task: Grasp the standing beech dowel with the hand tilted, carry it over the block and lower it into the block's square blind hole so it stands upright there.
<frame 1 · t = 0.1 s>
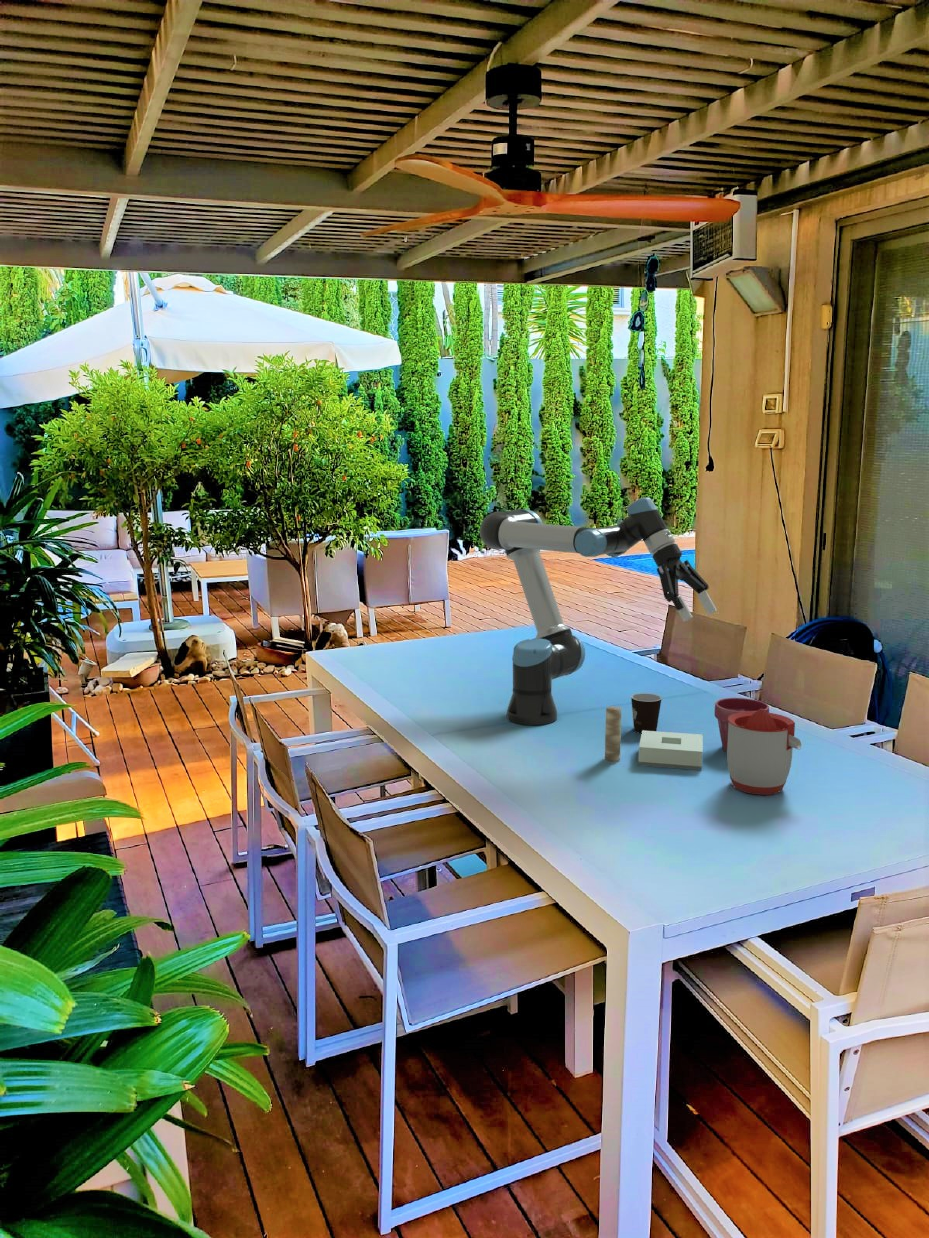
hand: (700, 616, 258), 36 cm above the table, tool tilted 35°, fingers open, 13 cm apart
citrus juicer: (760, 788, 231), on the table
dowel: (612, 759, 251), on the table
coffee mug: (645, 729, 276), on the table
plant pot: (739, 749, 258), on the table
socket block: (670, 758, 251), on the table
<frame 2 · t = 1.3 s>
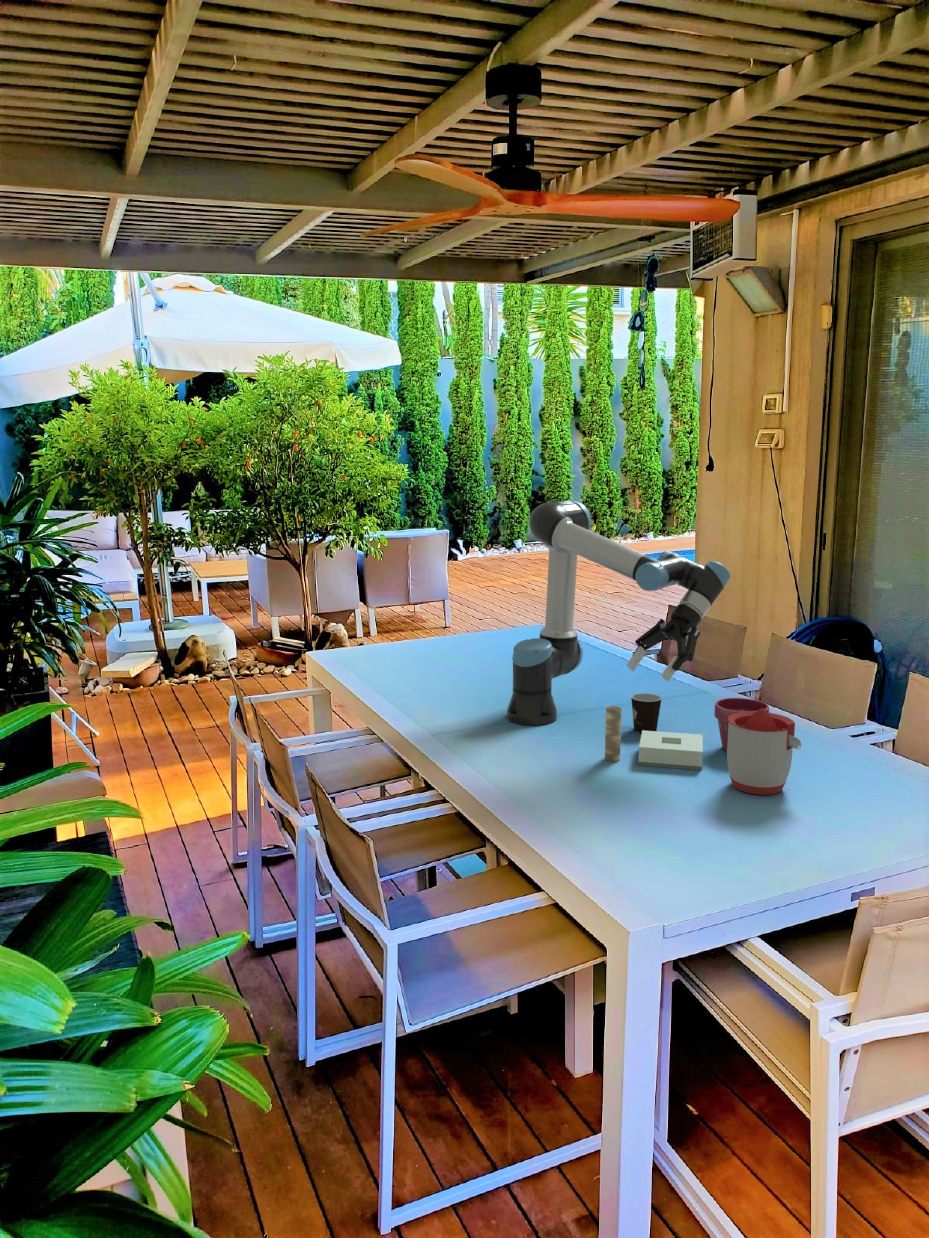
hand: (646, 673, 252), 22 cm above the table, tool tilted 45°, fingers open, 13 cm apart
nothing on the table moved.
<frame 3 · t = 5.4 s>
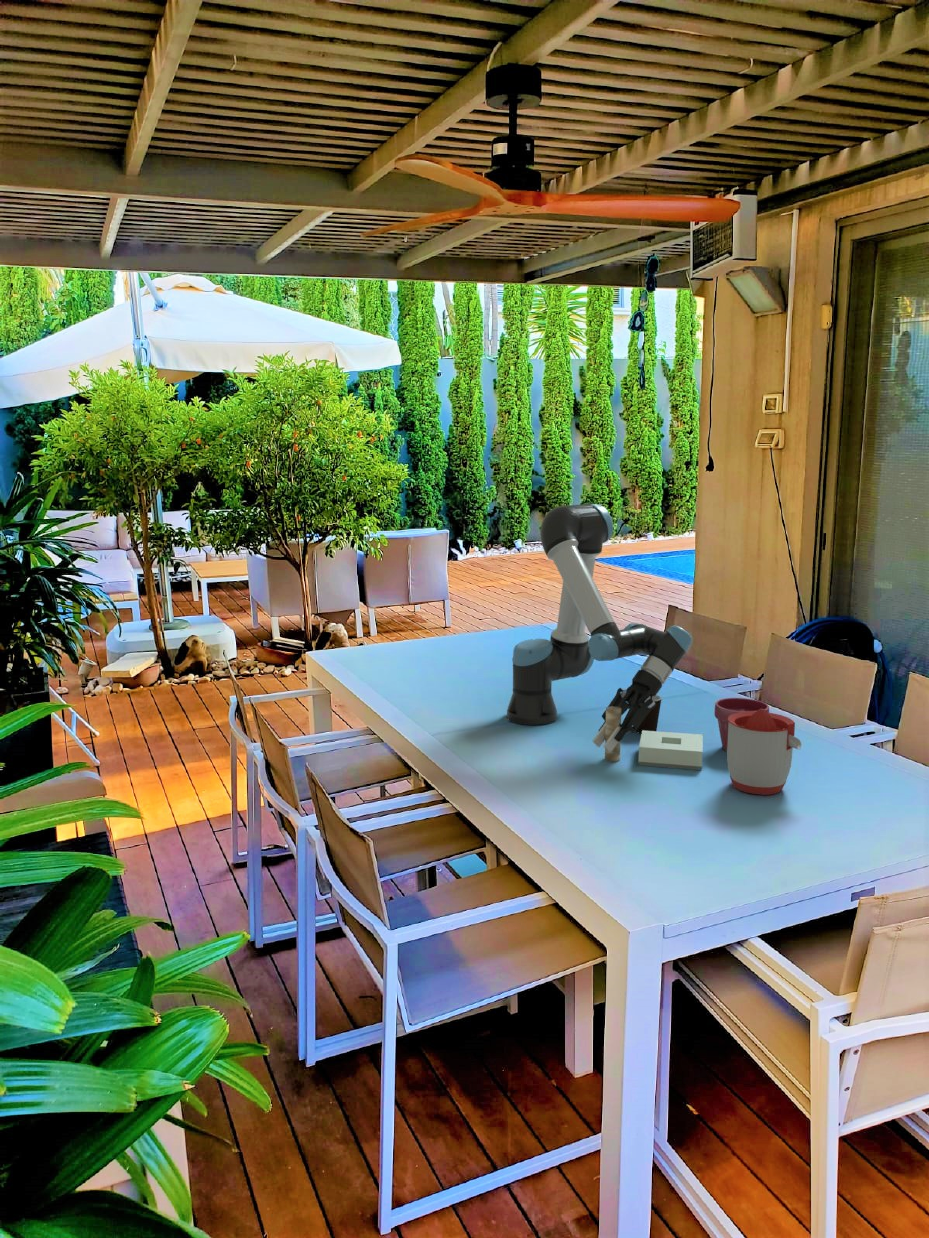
hand: (601, 746, 248), 4 cm above the table, tool tilted 45°, fingers closed on dowel, 4 cm apart
dowel: (612, 759, 251), on the table, touching gripper
everything else where it was.
when the fingers open (7 cm above the table, at t = 10.6 s): dowel drops 2 cm, resting on socket block.
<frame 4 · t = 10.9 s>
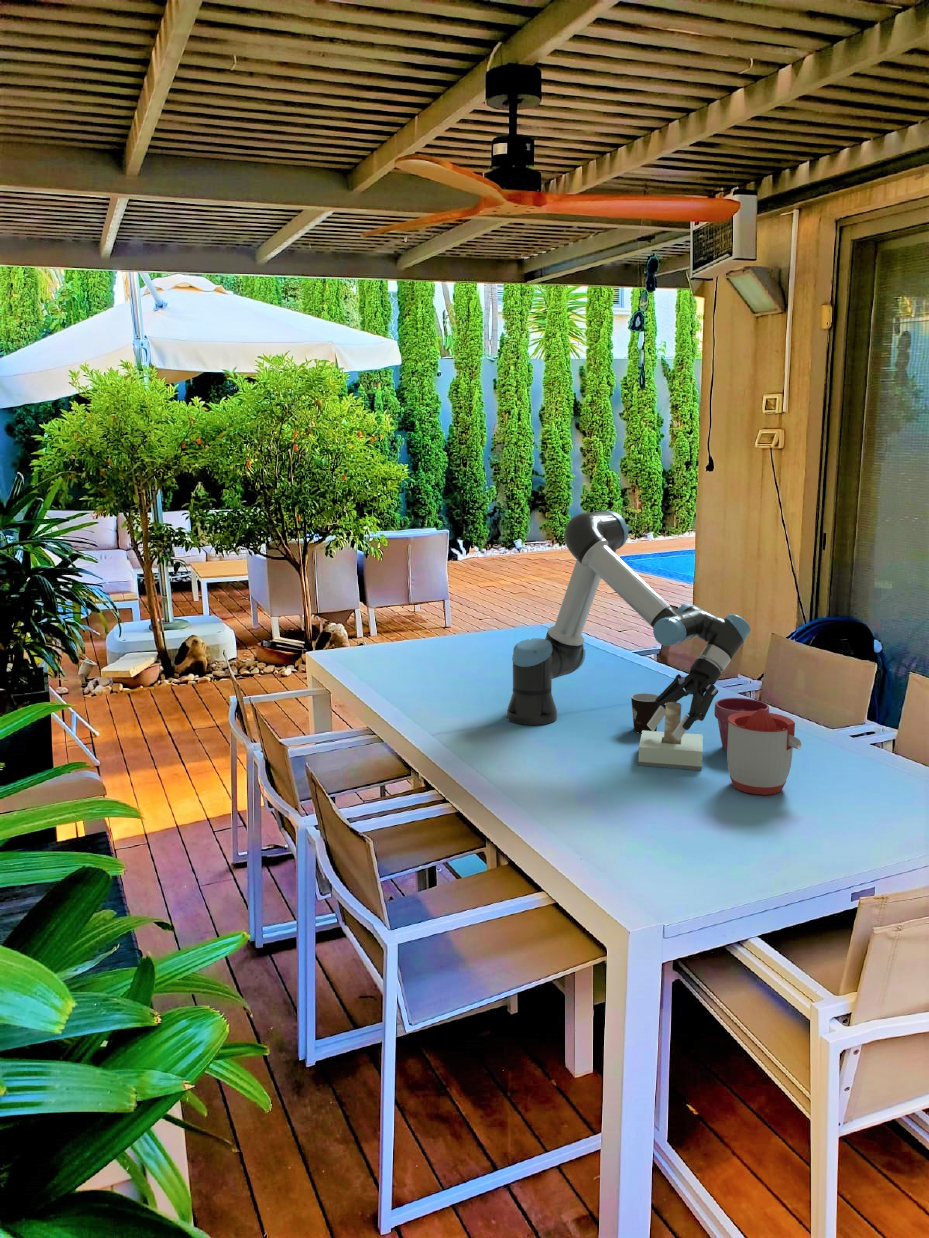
hand: (662, 732, 248), 8 cm above the table, tool tilted 45°, fingers open, 9 cm apart
dowel: (670, 754, 251), point 1 cm above the table, touching socket block
everything else where it was.
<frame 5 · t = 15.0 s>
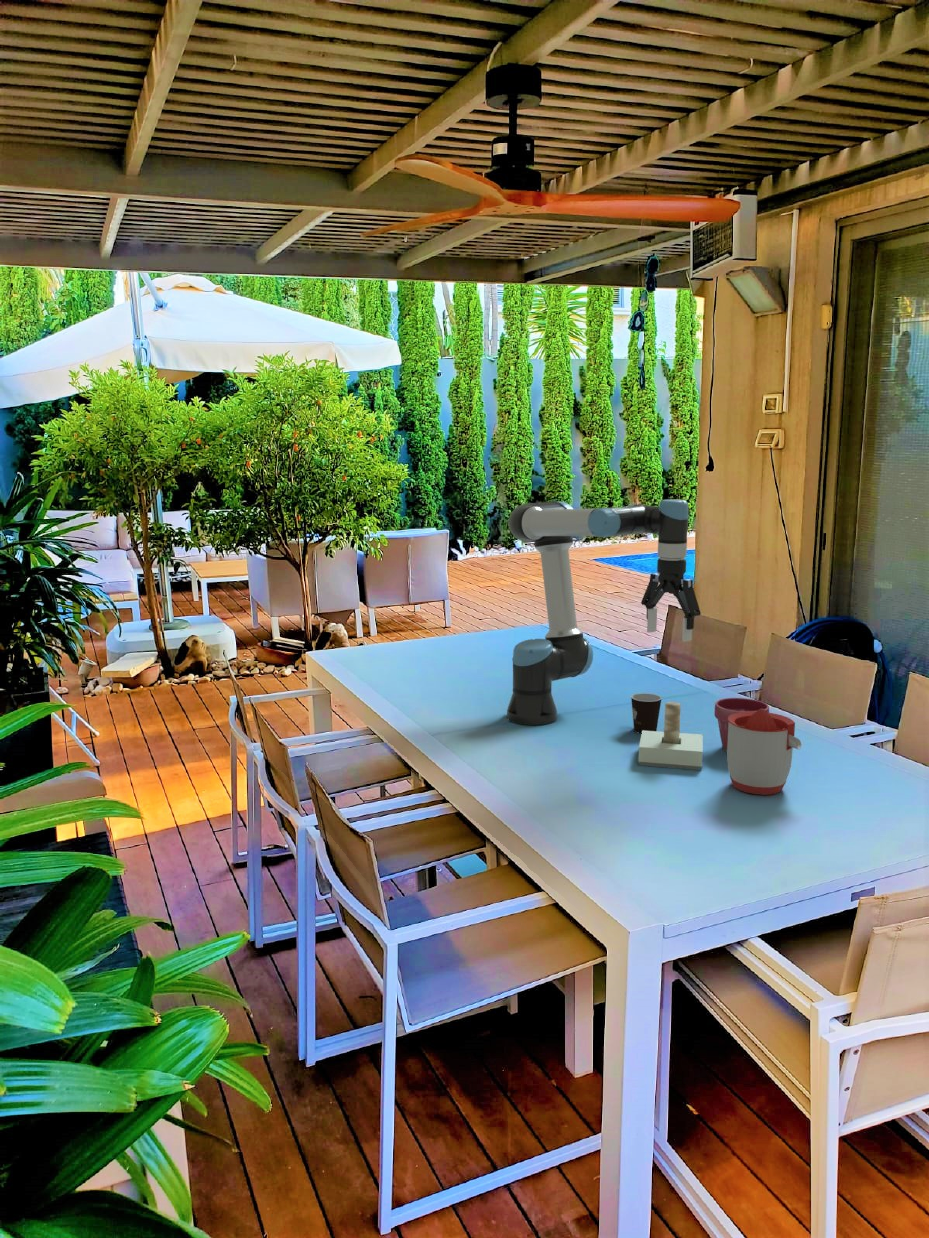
hand: (668, 636, 256), 31 cm above the table, tool pointing down, fingers open, 13 cm apart
nothing on the table moved.
at the end: dowel 0.0 cm off-centre on the socket block, point 1.0 cm above the socket block's base; dowel tilted 0°; the gripper is holding nothing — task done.
